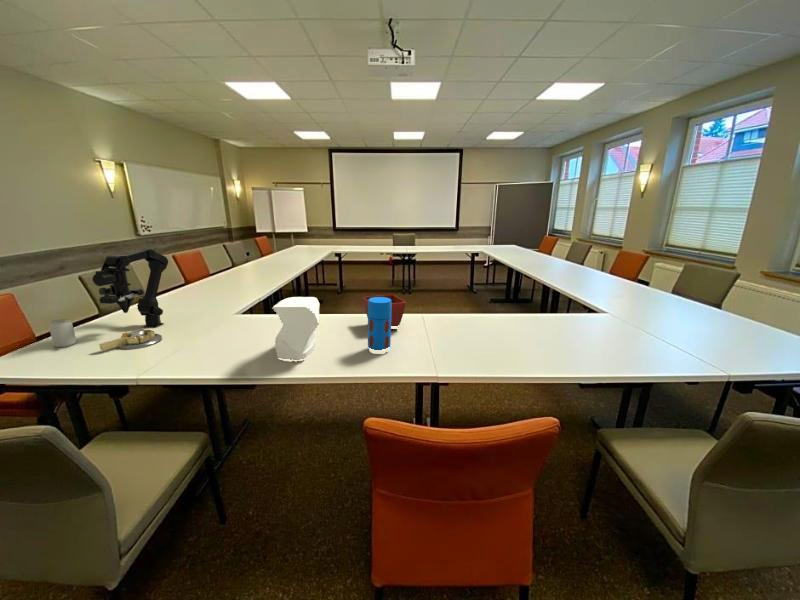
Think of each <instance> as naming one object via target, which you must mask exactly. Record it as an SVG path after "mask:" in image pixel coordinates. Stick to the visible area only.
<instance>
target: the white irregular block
mask: <svg viewBox="0 0 800 600" xmlns="http://www.w3.org/2000/svg"><path fill="white" fill-rule="evenodd" d="M320 306H321V305H320V302H319V300H318V298H317V297H315V296H291V297H287V298H284V299H282V300H280V301H278V302H277V303H276V304H275V305H273V307H271V309H272V310H273V311H274V312H276V315H278V318H279V320H280V323H281V324H282V327H281V328H280V330H279V331H278V333H277V334H276V337H275V340H274V343H275V344H274V346H275V347H274V348H275V351H276V357H278V358H282V359H290V360H292V359H293V360H300V359H304V358H306V357H307V356H308V355H310V354H311V353H312V354H313V352H314V350H313V348H314V349H315V346H316V343H317V341H316V340H317V339H316V329H317V328H318V326H320ZM312 351H313V352H312ZM278 358H277V359H278Z"/></svg>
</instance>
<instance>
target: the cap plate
mask: <svg viewBox="0 0 800 600" xmlns="http://www.w3.org/2000/svg"><path fill="white" fill-rule="evenodd" d="M144 330H145V329H144ZM144 330H139V329H134V330H131V331H130V332H131V336H133V335H136V337H140V336H144V335H145V334H144ZM162 340H163V337H162V335H161V334H159V333H155V337H154V338H153V339H152V340H150V341H146V342H143V343H139V344H123V345H120V346H116V347H114V348H115V349H117V350H122V351H123V350H124V351H128V350H137V349H143V348H148V347H151V346H154V345H156V344H158V343H160V342H161V341H162Z"/></svg>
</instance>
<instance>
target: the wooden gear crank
mask: <svg viewBox="0 0 800 600" xmlns="http://www.w3.org/2000/svg"><path fill="white" fill-rule="evenodd" d="M138 330H144V334H145V335H144V336H140V337H136V335H133V336H131V331H130V332H129V331H128V332H122V334H121V336H120V338H116V339H112V340H109V341H106V342H101V343H99V350H101V351H105V350H106V351H107V350H110V349H112V348H115V347H116V346H120V345H123V344H139V343H143V342H146V341H150V340H152V339H153V338H154V337H155V334H156V333H155V331H154V330H151V329H145V327H142V328H141V327H139V329H138Z"/></svg>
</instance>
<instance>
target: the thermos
mask: <svg viewBox="0 0 800 600" xmlns="http://www.w3.org/2000/svg"><path fill="white" fill-rule="evenodd" d="M391 306H392V303H391V299H389V298H385V297H373V298H370V299H369V300H368V318H367V348H368V347H369V348H371V349H374V350H382V349H386V348H388V347H390V348H391V344H392V343H391V341H392V339H391V338H392V336H391V335H392V334H391V333H392V330H391Z"/></svg>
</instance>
